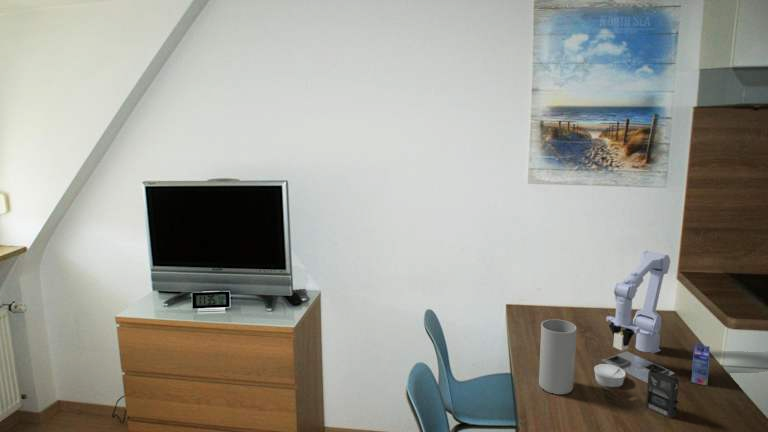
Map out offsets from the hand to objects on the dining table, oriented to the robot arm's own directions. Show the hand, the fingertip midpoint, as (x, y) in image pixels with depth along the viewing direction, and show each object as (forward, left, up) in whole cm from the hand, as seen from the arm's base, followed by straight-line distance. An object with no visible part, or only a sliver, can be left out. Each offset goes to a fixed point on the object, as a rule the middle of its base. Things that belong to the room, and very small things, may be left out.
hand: (621, 343), depth 211 cm
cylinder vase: (+35, -1, -10) cm, 37 cm away
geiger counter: (+15, +29, -10) cm, 35 cm away
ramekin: (+15, +7, -10) cm, 20 cm away
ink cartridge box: (-18, +22, -10) cm, 30 cm away
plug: (0, 0, -2) cm, 2 cm away
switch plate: (-4, +5, -10) cm, 12 cm away
